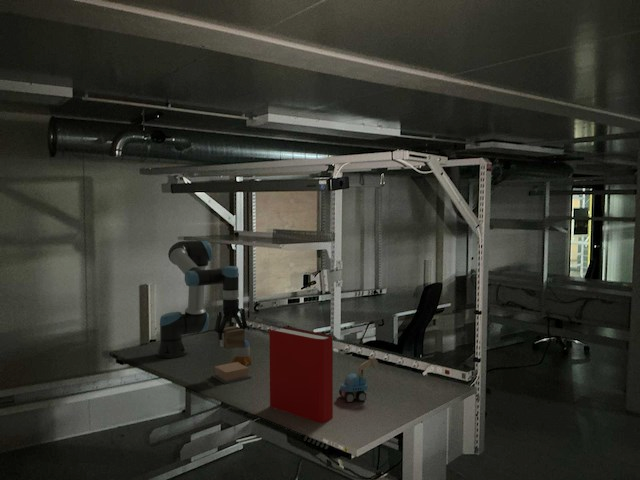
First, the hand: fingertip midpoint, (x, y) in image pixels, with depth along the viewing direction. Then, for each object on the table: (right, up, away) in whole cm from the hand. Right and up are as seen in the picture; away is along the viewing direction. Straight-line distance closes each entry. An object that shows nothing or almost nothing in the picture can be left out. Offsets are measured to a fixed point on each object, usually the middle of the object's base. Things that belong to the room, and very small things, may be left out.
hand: (231, 344), depth 244 cm
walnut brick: (0, 0, 0) cm, 0 cm away
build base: (0, -16, +1) cm, 16 cm away
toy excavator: (+60, -17, -27) cm, 68 cm away
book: (+35, -18, -42) cm, 58 cm away
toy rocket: (+2, -15, +18) cm, 24 cm away
